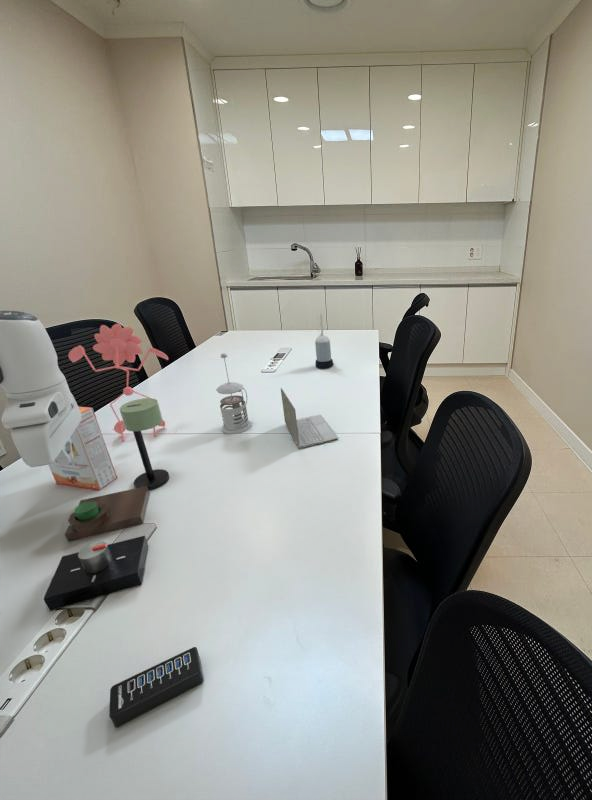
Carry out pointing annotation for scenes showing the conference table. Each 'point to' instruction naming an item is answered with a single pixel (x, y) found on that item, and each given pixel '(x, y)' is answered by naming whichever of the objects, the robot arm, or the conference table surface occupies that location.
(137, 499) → the brown green button box
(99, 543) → the dimmer knob
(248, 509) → the conference table surface
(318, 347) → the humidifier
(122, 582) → the dimmer panel
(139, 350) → the figurine
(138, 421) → the desk lamp
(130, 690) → the multiport hub
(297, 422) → the laptop
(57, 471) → the cracker box
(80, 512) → the lamp switch
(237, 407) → the french press
